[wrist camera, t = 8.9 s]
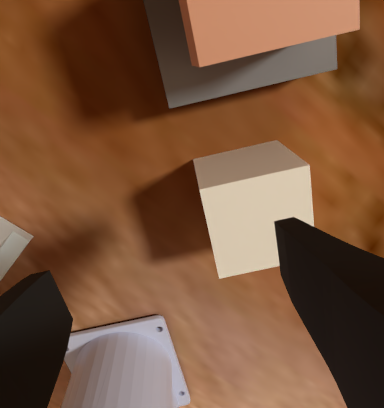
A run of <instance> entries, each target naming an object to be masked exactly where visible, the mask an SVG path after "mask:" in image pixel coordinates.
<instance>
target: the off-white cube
mask: <svg viewBox="0 0 384 408" xmlns="http://www.w3.org/2000/svg"><path fill="white" fill-rule="evenodd" d="M193 162H194V167H195V171H196V176H197V181H198V186H199V191H200V195H201V200H202V204H203V208H204V213H205V217H206V222H207V226H208V231H209V235H210V240H211V244H212V248H213V253H214V257H215V262H216V266H217V271H218V275H219V279H220V278H225V277H229V276H234V275H239V274H243V273H248V272H253V271H258V270H262V269H267V268H272V267H276V266H280V264H279V256H278V248H277V241H276V233H275V225H274V221H277V220H282V219H287V218H291V217H295V218H297V219H299V220H301V221H303V222H305V223H307V224H309V225H311V226H313V227H314V219H313V206H312V192H311V178H310V165H309V164H308V163H306V162H305V161H304V160H302V159H301V158H300V157H298V156H297V155H296V154H295V153H293V152H292V151H291V150H289V149H288V148H287V147H285V146H284V145H283V144H281V143H280V142H279V141H278V140H276V141H271V142H267V143H262V144H258V145H254V146H249V147H245V148H240V149H236V150H232V151H227V152H223V153H218V154H214V155H210V156H205V157H201V158H197V159H193Z"/></svg>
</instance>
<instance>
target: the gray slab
mask: <svg viewBox="0 0 384 408" xmlns="http://www.w3.org/2000/svg"><path fill="white" fill-rule="evenodd" d="M143 1H144V6H145V10H146V14H147V18H148V22H149V26H150V30H151V35H152V39H153V43H154V47H155V51H156V55H157V59H158V64H159V68H160V72H161V76H162V80H163V84H164V88H165V93H166V97H167V101H168V105H169V109H170V108H174V107H179V106H183V105H187V104H191V103H196V102H200V101H204V100H208V99H212V98H217V97H221V96H225V95H229V94H234V93H238V92H242V91H246V90H250V89H255V88H259V87H263V86H267V85H272V84H276V83H280V82H284V81H289V80H293V79H297V78H301V77H305V76H310V75H314V74H318V73H322V72H327V71H331V70H335V69H337V51H336V35H333V36H329V37H325V38H321V39H317V40H313V41H308V42H304V43H300V44H296V45H292V46H287V47H283V48H279V49H275V50H271V51H266V52H262V53H258V54H254V55H250V56H245V57H241V58H237V59H233V60H229V61H225V62H220V63H216V64H212V65H208V66H204V67H196V66H192V64H191V59H190V54H189V49H188V44H187V39H186V34H185V29H184V25H183V20H182V15H181V10H180V5H179V0H143Z"/></svg>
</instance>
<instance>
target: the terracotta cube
mask: <svg viewBox="0 0 384 408" xmlns="http://www.w3.org/2000/svg"><path fill="white" fill-rule="evenodd" d="M179 5H180V10H181V15H182V20H183V25H184V29H185V34H186V39H187V44H188V49H189V54H190V59H191V64H192V66H196V67H204V66H208V65H212V64H216V63H220V62H225V61H229V60H233V59H237V58H241V57H245V56H250V55H254V54H258V53H262V52H266V51H271V50H275V49H279V48H283V47H287V46H292V45H296V44H300V43H304V42H308V41H313V40H317V39H321V38H325V37H329V36H333V35H338V34H342V33H346V32H350V31H354V30H359V29H360V13H359V0H179Z"/></svg>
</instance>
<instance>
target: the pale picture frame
mask: <svg viewBox="0 0 384 408" xmlns="http://www.w3.org/2000/svg"><path fill="white" fill-rule="evenodd" d="M32 238H33V236H32V235H31V234H29V233H27V232H26V231H24V230H22V229H21V228H19V227H17V226H16V225H14V224H12V223H11V222H9V221H7V220H6V219H4V218H2V217H0V281H1V280H2V278H3V277H4V276H5V274H6V273H7V271H8V270H9V269H10V267H11V266H12V265H13V263H14V262H15V261H16V259H17V258H18V257H19V255H20V254H21V252H22V251H23V250H24V248H25V247H26V246H27V244H28V243H29V242H30V240H31V239H32Z"/></svg>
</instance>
